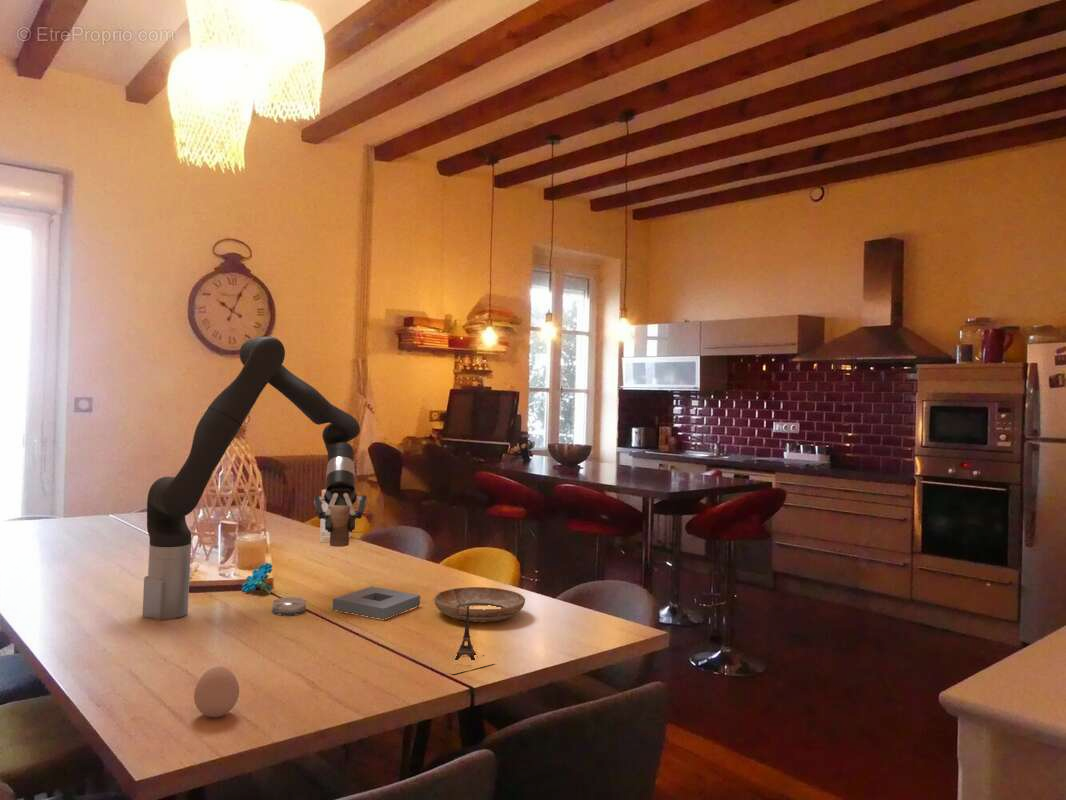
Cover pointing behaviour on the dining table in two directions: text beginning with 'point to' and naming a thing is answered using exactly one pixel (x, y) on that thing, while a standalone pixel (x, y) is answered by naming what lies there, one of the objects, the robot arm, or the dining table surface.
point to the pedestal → (289, 606)
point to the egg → (216, 692)
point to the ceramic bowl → (479, 603)
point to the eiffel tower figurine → (467, 648)
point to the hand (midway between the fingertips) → (340, 530)
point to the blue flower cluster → (258, 579)
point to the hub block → (376, 602)
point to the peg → (340, 525)
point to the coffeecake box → (323, 532)
